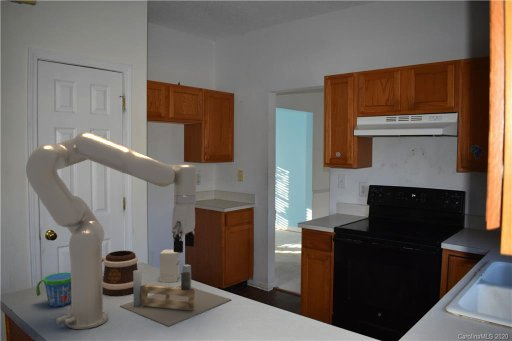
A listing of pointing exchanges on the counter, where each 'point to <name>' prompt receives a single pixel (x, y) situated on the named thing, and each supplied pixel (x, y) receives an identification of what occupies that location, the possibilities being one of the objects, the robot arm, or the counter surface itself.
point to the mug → (119, 272)
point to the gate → (169, 291)
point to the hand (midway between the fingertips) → (184, 249)
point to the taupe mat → (175, 316)
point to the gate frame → (138, 283)
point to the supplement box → (169, 266)
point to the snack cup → (57, 288)
